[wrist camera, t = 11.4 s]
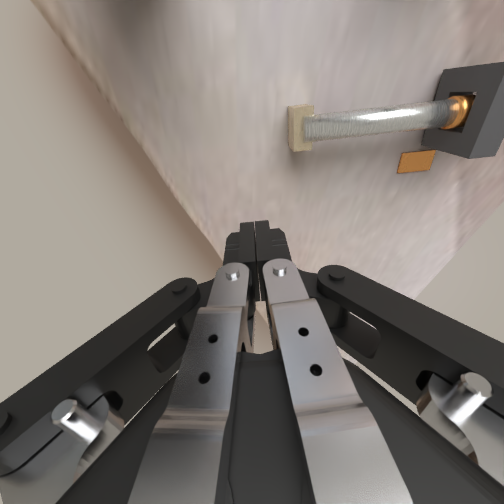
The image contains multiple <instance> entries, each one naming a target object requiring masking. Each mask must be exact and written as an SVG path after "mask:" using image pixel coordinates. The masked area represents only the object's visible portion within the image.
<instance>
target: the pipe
mask: <svg viewBox="0 0 504 504" xmlns="http://www.w3.org/2000/svg"><path fill="white" fill-rule="evenodd" d="M475 97H476V95H474V94H469V95H461V96H453V97H450V98H448V99H447V100H438V101H430V102H421V103H413V104H404V105H396V106H387V107H379V108H370V109H362V110H353V111H344V112H336V113H327V114H319V115H314V106H313V105H307V104H303V105H295V106H288V145H289V146H290V148H291V149H292V150H293V151H294V152H297V151H306V150H312V142H315V141H324V140H333V139H342V138H351V137H360V136H369V135H378V134H387V133H396V132H404V131H413V130H422V129H431V128H442V129H450V128H459V127H464V126H465V123H466V121H467V118H468V115H469V113H470V110H471V108H472V105H473V102H474V100H475ZM435 152H436V150H427V151H417V152H408V153H402V155H401V158H400V162H399V166H398V170H397V173H404V172H414V171H423V170H430V167H431V164H432V161H433V158H434V155H435Z"/></svg>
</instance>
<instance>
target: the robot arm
mask: <svg viewBox="0 0 504 504" xmlns="http://www.w3.org/2000/svg"><path fill="white" fill-rule="evenodd" d="M255 233H256V238H255ZM258 273H259V275H258ZM259 282H260V291H261V301H266V310H267V318H268V324H269V329H270V334H271V340H272V345H273V351H270V352H267V353H264V354H255V353H253V348H254V331H255V310H256V303H255V302H256V301H260V291H259ZM350 312H352V313H353V314H355V315H356V316H358V317H360V318H361V319H363V320H365V321H366V322H368V323H369V324H371V325H373V326H374V327H375V328H376V329H377V330H376V329H375V328H373V327H371V326H370V325H368V324H367V323H365V322H363V321H362V320H360V319H359V318H357V317H355V316H354V315H352V314H351V313H350ZM174 323H175V326H176V327H174V328H173V329H172V330H171V331H170V332H169V333H168V334H167V335H165V336H164V337H163V338H162V339H161V340H160V341H158V342H157V343H156V344H155V345H154V346H153V347H152V348H150V349H149V350H148V347H149V345H150V344H151V343H152V342H153V341H154V340H155V339H156V338H157V337H159V336H160V335H161V334H162V333H163V332H164V331H166V330H167V329H168V328H169V327H170V326H171V325H173V324H174ZM337 346H338V347H340V348H341V349H342V350H344V351H345V352H346V353H348V354H349V355H350V356H352V357H353V358H354V359H356V360H357V361H358V362H360V363H361V364H362V365H364V366H365V367H366V368H367V369H369V370H370V371H371V372H373V373H374V374H375V375H377V376H378V377H379V378H381V379H382V380H383V381H385V382H386V383H387V384H389V385H390V386H391V387H392V388H394V389H395V390H396V391H398V392H399V393H400V394H402V395H403V396H404V397H406V398H407V399H409V400H410V401H411V402H412V403H413V404H415V405H416V406H417V411H418V413H419V416H420V417H419V416H418V415H416V414H415V413H414V412H413V411H412V410H410V409H409V408H408V407H407V406H405V405H404V404H403V403H402V402H401V401H399V400H398V399H397V398H396V397H395V396H393V395H392V394H391V393H390V392H388V391H387V390H386V389H385V388H384V387H382V386H381V385H380V384H379V383H377V382H376V381H375V380H374V379H373V378H371V377H370V376H369V375H368V374H366V373H365V372H364V371H363V370H361V369H360V368H359V367H358V366H356V365H354V364H353V363H351V362H350V361H348V360H346V359H344V358H342V357H341V354H340V352H339V350H338V348H337ZM147 350H148V351H147ZM178 370H179V371H178ZM177 371H178V373H176V372H177ZM175 373H176V374H175ZM174 374H175V375H174ZM173 375H174V376H173ZM172 376H173V377H172ZM171 377H172V378H171ZM170 378H171V379H170ZM163 385H164V386H163ZM162 386H163V387H162ZM161 387H162V388H161ZM160 388H161V389H160ZM159 389H160V390H159ZM158 390H159V391H158ZM157 391H158V392H157ZM156 392H157V393H156ZM155 393H156V394H155ZM151 398H152V399H151ZM150 399H151V400H150ZM149 400H150V401H149ZM148 401H149V402H148ZM147 402H148V403H147ZM146 403H147V404H146ZM145 404H146V405H145ZM144 405H145V406H144ZM143 406H144V407H143ZM142 407H143V408H142ZM141 408H142V410H141V411H140V412H139V413H138V414H137V415H136V416H135V417H134V418H133V419H132V420H131V421H130V423H129V424H128V425H127V426H126V427H125V428H124V425H125V424H126V423H127V422H128V421H129V420H130V419H131V418H132V417H133V416H134V415H135V414H136V413H137V412H138V411H139V410H140V409H141ZM0 493H1V497H2V501H3V504H504V343H501V342H500V341H498V340H495V339H493V338H491V337H489V336H487V335H485V334H483V333H481V332H479V331H477V330H475V329H473V328H471V327H469V326H467V325H464V324H462V323H460V322H458V321H456V320H454V319H452V318H450V317H448V316H446V315H443V314H442V313H440V312H437V311H435V310H433V309H431V308H429V307H427V306H425V305H423V304H421V303H419V302H417V301H415V300H413V299H410V298H408V297H406V296H404V295H402V294H400V293H398V292H396V291H394V290H392V289H390V288H388V287H386V286H384V285H381V284H379V283H377V282H375V281H373V280H371V279H369V278H367V277H365V276H363V275H361V274H359V273H357V272H354V271H352V270H350V269H348V268H346V267H343V266H339V265H328V266H325V267H323V268H321V269H320V270H319V271H318V274H316V273H309V272H305V271H302V270H299V269H298V268H297V267H296V265H295V264H294V263H293V262H292V260H291V256H290V252H289V248H288V245H287V241H286V237H285V234H284V232H283V231H282V230H280V229H279V228H277V229H270V227H269V221H268V220H265V221H255V229H254V222H245V223H240V232H236V233H231V234H230V235H229V236H228V237H227V240H226V247H225V253H224V260H223V266H222V267H221V268H219V269H218V271H217V272H216V275H215V278H214V279H212V280H210V281H207V282H204V283H201V284H198V285H197V282H196V281H195V280H194V279H192V278H179V279H176V280H174V281H172V282H170V283H169V284H167V285H166V286H164V287H163V288H162V289H160V290H159V291H157V292H156V293H154V294H153V295H152V296H150V297H149V298H148V299H146V300H145V301H144V302H142V303H141V304H139V305H138V306H136V307H135V308H133V309H132V310H131V311H129V312H128V313H127V314H125V315H124V316H122V317H121V318H119V319H118V320H117V321H115V322H114V323H113V324H111V325H110V326H108V327H107V328H105V329H104V330H103V331H101V332H100V333H98V334H97V335H96V336H94V337H93V338H91V339H90V340H89V341H87V342H86V343H84V344H83V345H82V346H80V347H79V348H77V349H76V350H75V351H73V352H72V353H70V354H69V355H68V356H66V357H65V358H63V359H62V360H60V361H59V362H58V363H56V364H55V365H53V366H52V367H51V368H49V369H48V370H46V371H45V372H44V373H42V374H41V375H39V376H38V377H37V378H35V379H34V380H33V381H31V382H30V383H28V384H27V385H26V386H24V387H23V388H21V389H20V390H18V391H17V392H16V393H14V394H13V395H11V396H10V397H9V398H7V399H6V400H4V401H3V402H2V403H0Z"/></svg>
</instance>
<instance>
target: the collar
mask: <svg viewBox="0 0 504 504" xmlns="http://www.w3.org/2000/svg"><path fill="white" fill-rule="evenodd" d="M473 92H477V94H476V97H475V100H474V102H473V105H472V108H471V110H470V113H469V115H468V118H467V121H466V123H465V126H464V127H459V128H450V129H442V128H431V129H426V131H425V134H424V137H423V141H422V144H421V145H422V146H426V147H429V148H433V149H436V150H440V151H443V152H447V153H450V154H454V155H457V156H461V157H464V158H468V159H472V158H481V157H491V156H495V155H496V153H497V151H498V149H499V147H500V144H501V142H502V140H503V138H504V62H499V63H491V64H483V65H476V66H468V67H460V68H453V69H445V70H443V73H442V77H441V80H440V83H439V87H438V90H437V93H436V97H435V100H434V101H438V100H447V99H448V98H450V97H453V96H461V95H469V94H473Z"/></svg>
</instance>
